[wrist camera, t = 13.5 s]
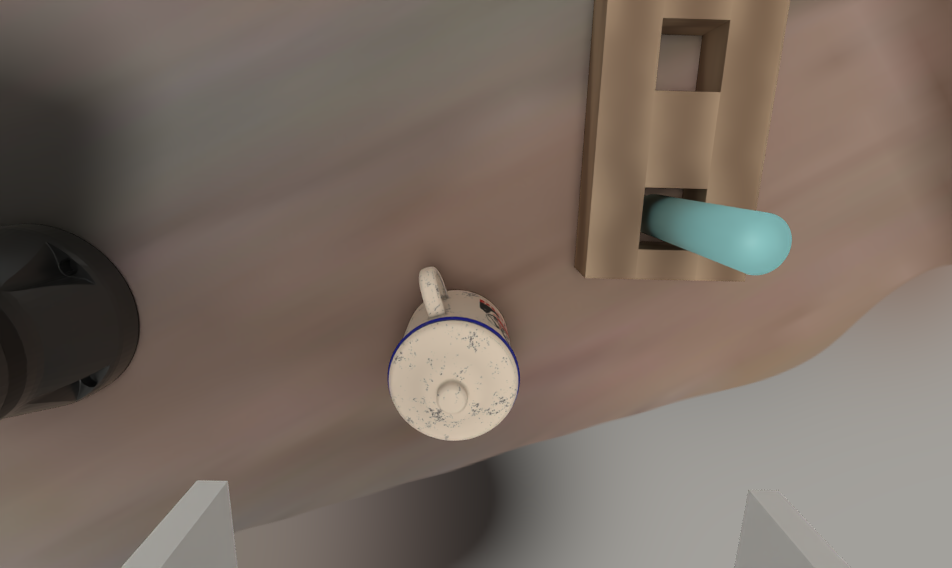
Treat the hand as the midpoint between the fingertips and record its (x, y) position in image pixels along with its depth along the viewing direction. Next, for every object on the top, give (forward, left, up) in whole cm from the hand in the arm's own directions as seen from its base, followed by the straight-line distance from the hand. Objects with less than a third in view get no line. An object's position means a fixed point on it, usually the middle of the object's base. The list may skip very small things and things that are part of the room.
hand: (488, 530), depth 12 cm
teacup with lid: (-2, -4, -29) cm, 29 cm away
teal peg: (+14, +6, -29) cm, 32 cm away
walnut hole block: (+14, +11, -29) cm, 34 cm away
